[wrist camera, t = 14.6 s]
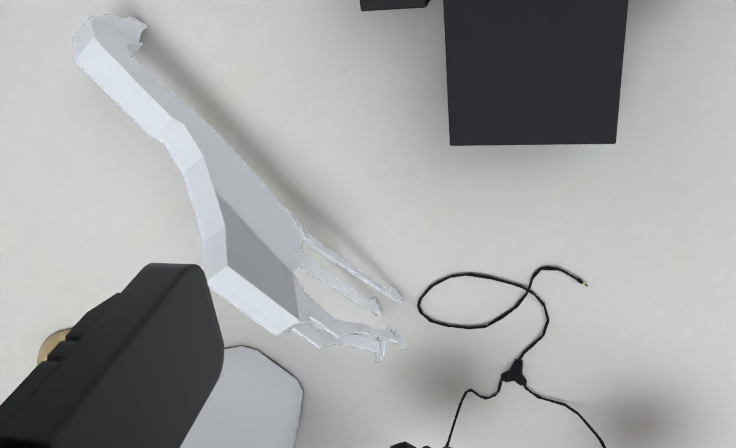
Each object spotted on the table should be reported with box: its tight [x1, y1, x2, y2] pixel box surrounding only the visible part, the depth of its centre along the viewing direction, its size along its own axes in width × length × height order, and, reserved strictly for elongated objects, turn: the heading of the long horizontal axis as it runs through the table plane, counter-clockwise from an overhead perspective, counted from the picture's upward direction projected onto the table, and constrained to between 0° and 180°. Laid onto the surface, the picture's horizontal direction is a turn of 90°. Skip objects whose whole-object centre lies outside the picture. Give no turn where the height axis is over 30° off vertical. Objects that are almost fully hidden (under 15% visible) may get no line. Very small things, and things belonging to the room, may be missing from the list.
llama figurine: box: [73, 14, 407, 363], centre depth 29 cm, size 2×11×18 cm
